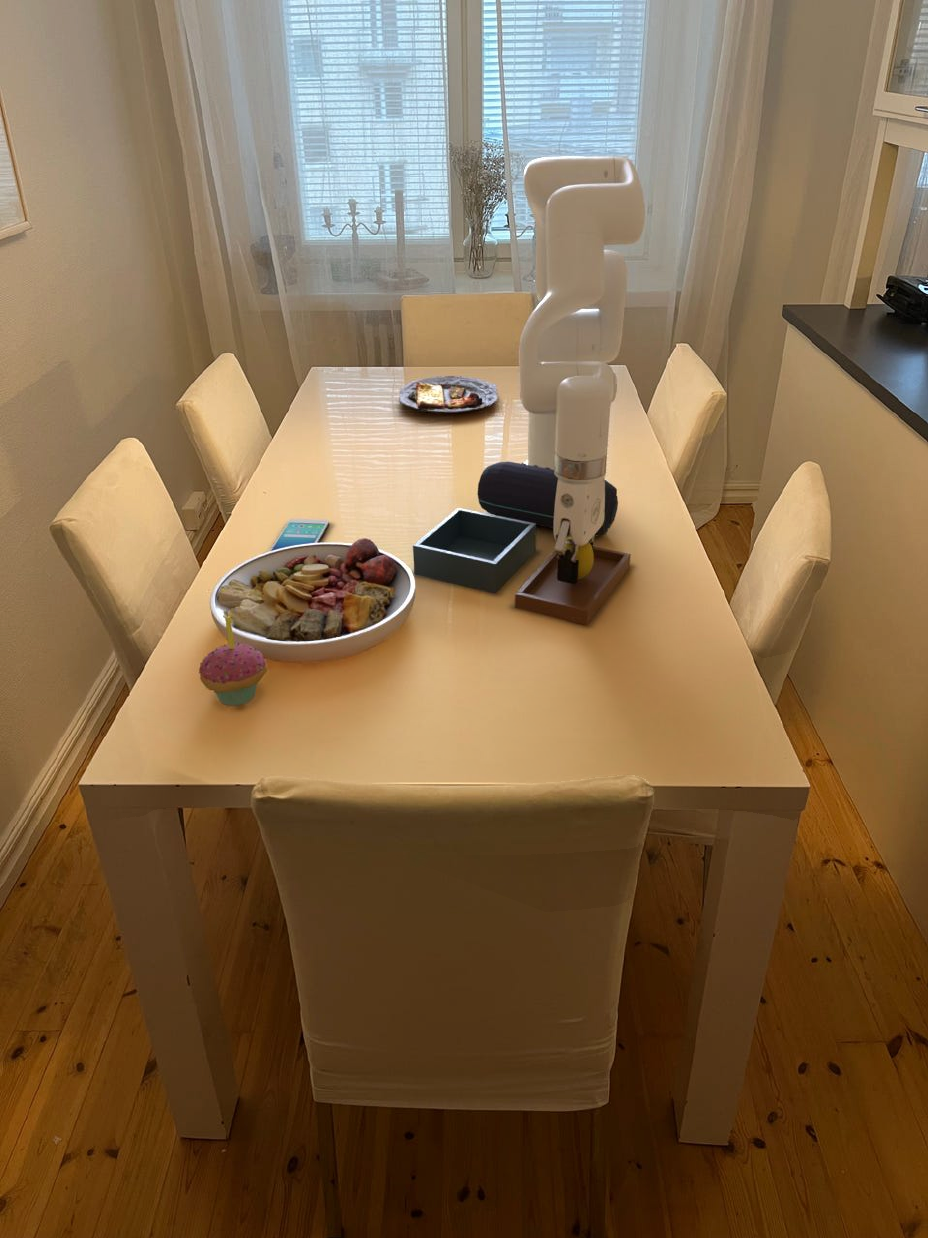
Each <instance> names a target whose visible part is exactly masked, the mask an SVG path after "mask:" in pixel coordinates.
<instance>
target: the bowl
mask: <svg viewBox="0 0 928 1238" xmlns="http://www.w3.org/2000/svg"><path fill="white" fill-rule="evenodd" d="M414 576H415V575H414V573H413V572H412V570H411V568H409V567H408V566H407V564H405V563H404V561H402V560H400V559H399V558H398V557H397V556H395V555H392V554H391V553H389V552H386V551H384V550H382V549H379V548H378V546H377V545H376V544H375V543H374V541H372V540H371V539H369V538H367V537H366V538H365V537H364V538H359V539H357V540H355V541H354V542H352V543H348V542H347V543H346V542H320V543H310V544H302V545H295V546H290V547H285V548H280V549H277V550H273V551H270V552H269V551H267V552H263V553H261V554H258V555H255V556H253V557H251V558H249V559H247V560H245V561H243V562H241V563H239V564H237V565H235V566H234V567H233V568H232V569H230V570H229V571H228V572H226V573H225V574H224V575H223V576H222V577H221V578H220V579H219V580H218V581H217V583H216V584H215V586H214V587H213V589H212V591H211V594H210V598H209V608H210V613H211V618H212V620H213V623H214V624H215V626H216V628H217V630H218V631H219V632H220V634H221V635H222V636H223V638H225V639H226V641H228V635H227V628H226V621H225V617H226V616H227V615H226V610H228V616H230V619H231V626H232V633H233V640H234V643H240V644H244V645H248V646H250V647H251V646H253V647H254V648H256V650H258V651H261V654H262V655H263V657H264V659H265V660H268V661H273V662H278V663H288V664H314V663H315V664H316V663H324V662H329V661H336V660H340V659H345V658H348V657H352V656H354V655H358V654H360V653H363V652H365V651H368V650H369V649H372V648H374V647H376V646H378V645H380V644H381V643H383V642H385V641H386V640H387V639H389V638H390V637H392V636H393V635H394V634H395V633H396V632H397V631H398V630H399V629H401V627H402V626H403V625H404V624H405V622H407V620H408V618H409V616H410V614H411V612H412V610H413V608H414V604H415V601H416V594H417V593H416V589H417V588H416V580H415V577H414Z"/></svg>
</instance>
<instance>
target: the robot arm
mask: <svg viewBox="0 0 928 1238" xmlns="http://www.w3.org/2000/svg"><path fill="white" fill-rule="evenodd" d="M523 189H524V194H525V198H526V202H527V204H528V207H529V209H530V211H531V213H532V215H533V218H534V219H533V220H534V223H535V227H536V243H535V245H536V246H535V275H534V278H535V279H534V286H535V287H534V288H535V295H536V298H537V300H538V302H539V304H538V305H537V306H536V307H535V308H534V310H533V311H532V312H531V314H530V315H529V317H528V319H527V321H526V322H525V324H524V327H523V328H522V329H523V330H522V332H521V335H520V339H519V348H518V388H519V389H518V390H519V398H520V403H521V405H522V407H523V409H524V410H525V411H526V412H528V422H527V423H528V424H527V425H528V426H527V427H528V428H527V429H528V430H527V460H526V461H524V462H523V463H525V464H526V465H531V466H534V465H537V466H538V467H542V468H546V467H548V468H550V469H552V470H554V474H555V476H556V477H558V483H557V490H556V498H555V509H554V526H553V528H552V529H553V538H554V541H555V545H554V550H555V552H556V553H557V559H558V567H557V580H558V581H562V582H566V583H571V584H576V583H577V582H578V568H579V560H576V559H577V554H578V548H579V546H584V545H585V544H586V543H587V542H588V541H589V543H590V544H591V546H592V549H593V547H594V546H595V545H594V541H595V537H596V536H595V533H596V532H597V531H598V530H599V529H600V527H601V526H602V524H603V522H604V514H605V480H606V478H605V477H606V475H607V463H608V447H609V431H610V430H609V429H610V415H611V406H612V404H613V403H614V401H615V400H616V396H617V392H618V391H617V390H618V379H617V373H616V372H614V370H613V368H612V366H610V365H609V364H608V363H610V362H613V361H615V359H616V358H617V357H618V356H619V353H620V349H621V346H622V338H623V331H624V320H625V309H626V299H627V290H628V288H627V287H628V271H627V269H628V267H627V265H626V264H627V263H626V260H625V258H624V257H623V255H622V254H621V253H620V252H618V251H616V250H612V249H605V246H619V245H620V246H621V245H627V246H628V245H633V244H636V243H637V242H638V241H639V240H640V238H641V236H642V234H643V231H644V226H645V220H646V219H645V218H646V207H645V199H644V192H643V188H642V185H641V181H640V178H639V174H638V172H637V168H636V166H635V163H634V162H633V161H632V160H631V159H630V158H628V157H627V156H626V157H625V156H620V155H618V156H617V155H616V156H615V155H601V156H582V155H581V156H580V155H579V156H548V157H540V158H536V159H533V160H531V161H530V162H529V163H528V164H527V165H526V167H525V169H524V172H523ZM569 537H572V539H573V540H569V539H568V538H569ZM567 544H568V545H573V549H572V552H571V551H570V550H569V549H567V547H566V545H567ZM554 550H553V551H554Z"/></svg>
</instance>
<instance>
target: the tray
mask: <svg viewBox="0 0 928 1238" xmlns="http://www.w3.org/2000/svg"><path fill="white" fill-rule="evenodd" d="M593 554H594V562H593V566H592V569H591V571H590V573H589V574H588V575H587V576H586V577H584V578H582V579H580V580H578V582H577V583H576V584H571V583H566V582H562V581H558V580H557V567H558V559H557V553H556V552H555V550H553V551H552V553H550V555H549V556H548V557H547V558H546V559H545V560H544V561H543V562H542V563H541V564H540V566H539V567H538V568H537V569H536V570H535V571H534V572H533V573H532V575H530V577H528V579H527V580H526V581H525V582H524V583H523V584H522V585H521V587H520V588H519V589H518V590H517V591H515V593H514V608H515V609H518V610H522V611H526V612H531V613H534V614H539V615H542V616H547V617H551V618H555V619H558V620H559V619H560V620H563V621H568V622H572V623H575V624H580V625H583V626H587V625H588V624H589V622H591V620H592V619H593V618H594V616H595V615H596V613H597V612H598V611H599V609H600V608H601V607H602V605H603V604H604V603H605V601H606V600H607V598H608V597H609V596H610V594H611V593H612V592H613V590H615V588H616V586H617V585H618V584H619V582H620V581H621V580H622V578H623V577H624V576H625V574H626V573H627V572H628V570H629V569H630V568H631V556H632V555H631V553H629V552H623V551H619V550H614V549H608V548H604V547H599V546H595V545H594V547H593Z"/></svg>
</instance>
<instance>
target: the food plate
mask: <svg viewBox="0 0 928 1238" xmlns="http://www.w3.org/2000/svg"><path fill="white" fill-rule="evenodd" d="M399 390H400V391H399V397H398V401H399V403H400V404H401V405H402V406H405V407H408V408H410V409H412V410H416V411H421V412H425V413H451V414H456V413H457V414H458V413H465V412H470V411H475V410H476V411H477V410H478V411H479V410H482V409H486V408H487V409H488V408H490V407H491V406H492V405H493V404H494V405H495V404H496V403H497V401H498V386H497V385H495V384H494V383H493V382H489V381H485V380H481V379H479V378H474V377H468V376H461V375H460V376H457V375H446V376H433V377H426V378H421V379H419V378H418V379H416V380H413V381H410V382H408V383H406V384H405V385H403V386H402V387H401V388H400V389H399Z"/></svg>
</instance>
